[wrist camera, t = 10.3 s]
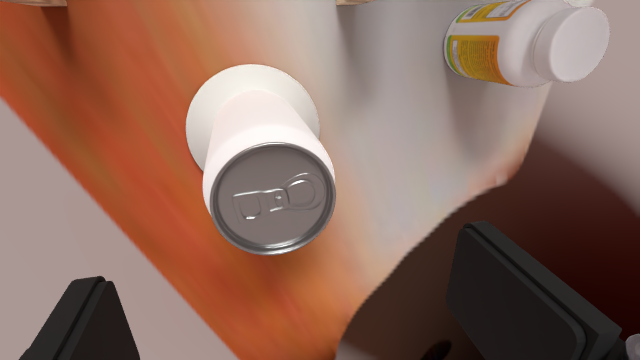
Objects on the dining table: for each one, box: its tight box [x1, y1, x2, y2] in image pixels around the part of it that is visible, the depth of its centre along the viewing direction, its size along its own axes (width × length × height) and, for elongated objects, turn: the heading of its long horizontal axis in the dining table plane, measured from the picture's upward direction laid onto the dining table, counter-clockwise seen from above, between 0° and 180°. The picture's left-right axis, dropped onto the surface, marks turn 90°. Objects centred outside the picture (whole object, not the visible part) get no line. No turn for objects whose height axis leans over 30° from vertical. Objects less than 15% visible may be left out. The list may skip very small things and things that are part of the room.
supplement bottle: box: [444, 0, 610, 88], centre depth 23 cm, size 5×5×10 cm
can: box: [203, 90, 336, 255], centre depth 20 cm, size 6×6×12 cm
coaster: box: [186, 64, 320, 172], centre depth 26 cm, size 10×10×1 cm
